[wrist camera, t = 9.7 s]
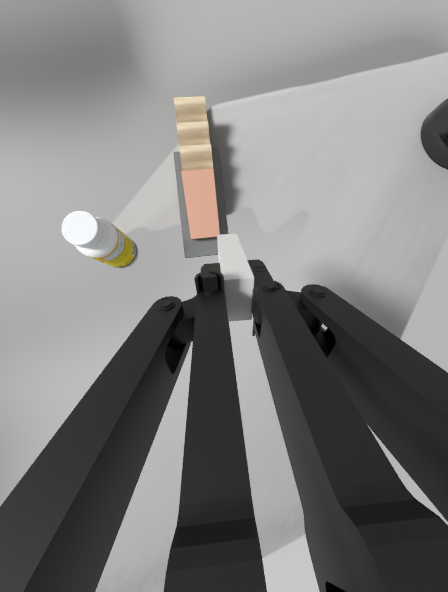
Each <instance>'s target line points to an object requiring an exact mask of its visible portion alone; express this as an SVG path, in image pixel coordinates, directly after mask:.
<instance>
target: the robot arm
mask: <svg viewBox="0 0 448 592" xmlns="http://www.w3.org/2000/svg"><path fill="white" fill-rule="evenodd" d="M421 138H422V143H423V145H424V148H425V150H426V152H427V153H428V155H429V156H430V157H431V158H432V159H433V160H434V161H435V162H436V163H438V164H439V165H441V166H443V167H445V168H448V99H446V100H445V101H444V102H442V103H441V104H440V105H439V106H438V107H437V108H435V109H434V110H433V111H432V112H431V113H430V114H429V115H428V116H427V117H426V119H425V120H424V123H423V125H422V130H421ZM217 242H218V256H219V263H213V264H204V265H203V266H202V268H201V273H199V274H197V275H196V277H195V283H196V290H197V295H196V296H195V297H194V298H192V299H189V300H187V301H184V302H181V300H180V299H179V298H177V297H173V296H170V297H164V298H161V299H159V300H157V301H156V302H155V303H154V304H153V305H152V307H151V308H150V309H149V310H148V312H147V313H146V315H145V316H144V317H143V318H142V320H141V321H140V322H139V324H138V325H137V326H136V328H135V329H134V330H133V332H132V333H131V334H130V336H129V337H128V338H127V340H126V341H125V342H124V343H123V345H122V346H121V347H120V349H119V350H118V352H117V353H116V354H115V356H114V357H113V358H112V359H111V361H110V362H109V363H108V365H107V366H106V367H105V369H104V370H103V371H102V373H101V374H100V375H99V377H98V378H97V379H96V381H95V382H94V383H93V385H92V386H91V387H90V389H89V390H88V391H87V393H86V394H85V395H84V396H83V398H82V399H81V401H80V402H79V403H78V405H77V406H76V407H75V408H74V410H73V411H72V412H71V414H70V415H69V417H68V418H67V419H66V421H65V422H64V423H63V424H62V426H61V427H60V428H59V430H58V431H57V432H56V434H55V435H54V436H53V438H52V439H51V440H50V442H49V443H48V444H47V446H46V447H45V448H44V449H43V451H42V452H41V453H40V455H39V456H38V457H37V459H36V460H35V462H34V463H33V464H32V465H31V467H30V468H29V469H28V471H27V472H26V474H25V475H24V476H23V477H22V479H21V480H20V481H19V483H18V484H17V485H16V487H15V488H14V489H13V491H12V492H11V493H10V495H9V496H8V497H7V499H6V500H5V501H4V503H3V504H2V505H1V507H0V592H95V590H96V588H97V585H98V583H99V580H100V578H101V575H102V572H103V570H104V567H105V565H106V562H107V559H108V557H109V554H110V552H111V549H112V546H113V544H114V541H115V539H116V536H117V534H118V531H119V528H120V526H121V523H122V521H123V518H124V515H125V513H126V510H127V508H128V505H129V502H130V500H131V497H132V495H133V492H134V489H135V487H136V484H137V482H138V479H139V477H140V474H141V471H142V469H143V466H144V464H145V461H146V458H147V456H148V453H149V451H150V448H151V445H152V443H153V440H154V438H155V435H156V432H157V430H158V427H159V424H160V422H161V419H162V417H163V414H164V412H165V409H166V407H167V404H168V401H169V399H170V396H171V394H172V391H173V388H174V386H175V383H176V381H177V378H178V376H179V373H180V370H181V367H182V365H183V362H184V360H185V357H186V355H187V352H188V350H189V347H190V344H191V341H193V348H192V360H191V372H190V385H189V397H188V409H187V420H186V432H185V445H184V457H183V469H182V481H181V493H180V505H179V514H178V521H177V527H176V530H175V534H174V538H173V541H172V545H171V549H170V554H169V560H168V565H167V571H166V578H165V586H164V592H267V589H266V582H265V576H264V569H263V562H262V555H261V549H260V543H259V537H258V532H257V527H256V522H255V516H254V510H253V503H252V496H251V488H250V481H249V473H248V466H247V458H246V450H245V443H244V435H243V428H242V420H241V412H240V405H239V397H238V390H237V382H236V374H235V367H234V359H233V352H232V345H231V336H230V329H229V321H238V320H251V319H252V314H253V318H254V321H253V336H255V334H256V338H257V342H258V345H259V349H260V353H261V356H262V360H263V364H264V367H265V371H266V375H267V378H268V382H269V386H270V390H271V393H272V397H273V401H274V404H275V408H276V412H277V415H278V419H279V423H280V426H281V430H282V434H283V437H284V441H285V445H286V448H287V452H288V456H289V459H290V463H291V467H292V470H293V474H294V478H295V481H296V485H297V489H298V492H299V496H300V500H301V504H302V508H303V513H304V523H305V533H306V538H307V543H308V547H309V552H310V555H311V560H312V563H313V567H314V571H315V575H316V579H317V583H318V586H319V590H320V592H448V525H447V524H446V523H445V522H444V521H443V520H442V519H441V518H440V517H439V516H438V515H436V514H435V513H434V512H432V511H431V510H429V509H428V508H427V507H426V506H424V505H423V504H422V503H420V502H419V501H418V500H416V499H415V498H414V497H413V496H412V494H411V493H410V492H409V491H408V490H407V489H406V487H405V486H404V484H403V483H402V482H401V480H400V478H399V477H398V475H397V473H396V472H395V470H394V468H393V467H392V465H391V464H390V462H389V460H388V459H387V457H386V456H385V454H384V452H383V450H382V449H381V447H380V445H379V444H378V442H377V440H376V439H375V437H374V435H373V434H372V432H371V430H370V429H369V428H368V426H369V427H370V428H371V429H372V430H373V432H374V433H375V434H376V436H377V437H378V438H379V439H380V440H381V441H382V443H383V444H384V445H385V446H386V448H387V449H388V450H389V451H390V452H391V454H392V455H393V456H394V457H395V459H396V460H397V461H398V462H399V463H400V465H401V466H402V467H403V468H404V469H405V471H406V472H407V473H408V474H409V475H410V477H411V478H412V479H413V480H414V482H415V483H416V484H417V485H418V486H419V488H420V489H421V490H422V491H423V492H424V494H425V495H426V496H427V497H428V498H429V500H430V501H431V502H432V503H433V504H434V506H435V507H436V508H437V509H438V511H439V512H440V513H441V514H442V515H443V517H444V518H445V519H446V520H447V521H448V373H447V372H446V371H445V370H443V369H442V368H440V367H439V366H437V365H436V364H434V363H433V362H432V361H430V360H429V359H427V358H426V357H425V356H423V355H422V354H420V353H419V352H417V351H416V350H415V349H413V348H412V347H410V346H409V345H407V344H406V343H405V342H403V341H402V340H400V339H399V338H398V337H396V336H395V335H393V334H392V333H390V332H389V331H388V330H386V329H385V328H383V327H382V326H380V325H379V324H378V323H376V322H375V321H373V320H372V319H370V318H369V317H368V316H366V315H365V314H363V313H362V312H361V311H359V310H358V309H356V308H355V307H353V306H352V305H351V304H349V303H348V302H346V301H345V300H343V299H342V298H341V297H339V296H338V295H336V294H335V293H333V292H332V291H331V290H329V289H327V288H325V287H323V286H320V285H313V284H312V285H306V286H304V287H303V288H302V290H301V292H293V291H287V290H285V288H284V287H283V286H282V285H281V284H280V283H278V282H276V281H273V279H272V277H271V275H270V274H269V272H268V270H267V268H266V266H265V265H264V263H263V262H262V261H260V260H247V258H246V256H245V254H244V251H243V249H242V246H241V244H240V241H239V238H238V236H237V234H222V235H217ZM322 324H324V325H325V326H326V327H327V330H324V329H323V328H322V327H321V326H322ZM366 423H367V424H366ZM367 425H368V426H367Z"/></svg>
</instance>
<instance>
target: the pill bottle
mask: <svg viewBox="0 0 448 592" xmlns="http://www.w3.org/2000/svg"><path fill="white" fill-rule="evenodd" d="M62 233H63V235H64V237H65V239H66V240H67V241H68V242H70V243H72V244H74V245H75V246H76V248H77V249H78V250H79V251H80V252H82V253H83V254H84V255H86V256H88V257H91V258H93V259H96V260H98V261H101V262H103V263H106V264H108V265H111V266H113V267H116V268H126V267H129V266H131V265H132V264H133V263H134V262H135V261H136V259H137V257H138V248H137V246H136V244H135V243H134V242H133V241H132V240H131V239H130V238H129V237H128V236H126V235H125V234H124V233H123V232H121V231H120V230H119V229H118V228H117V227H115V226H114V225H113V224H112V223H110V222H109V221H107V220H106V219H103V218H100V217H94V216H93V215H91V214H90V213H88V212H84V211H76V212H73V213H71V214H69V215H68V216H67V217H66V218H65V219H64V221H63V223H62Z"/></svg>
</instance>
